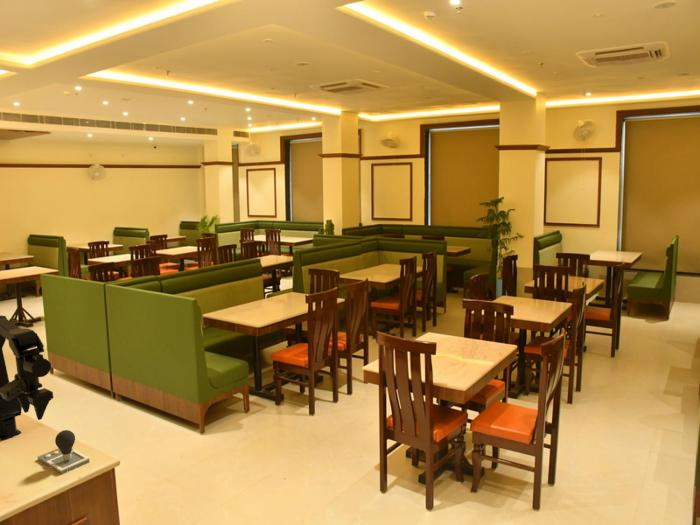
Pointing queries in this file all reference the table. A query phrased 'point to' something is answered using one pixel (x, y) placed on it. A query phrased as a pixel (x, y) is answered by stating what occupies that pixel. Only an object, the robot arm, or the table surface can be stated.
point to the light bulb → (65, 443)
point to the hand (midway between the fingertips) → (33, 415)
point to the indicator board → (60, 465)
